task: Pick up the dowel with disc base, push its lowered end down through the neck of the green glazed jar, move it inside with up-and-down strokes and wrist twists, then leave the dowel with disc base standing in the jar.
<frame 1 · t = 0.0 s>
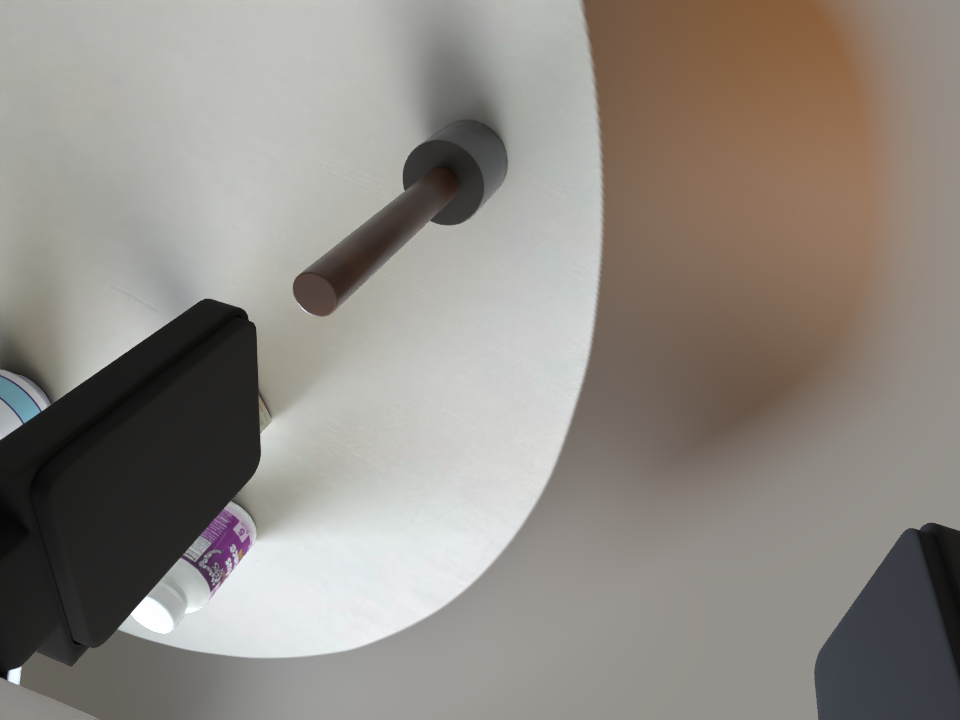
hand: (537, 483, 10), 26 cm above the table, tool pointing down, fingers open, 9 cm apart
pill bottle: (231, 518, 57), on the table
dowel with disc base: (469, 160, 36), on the table
beverage can: (29, 397, 57), on the table
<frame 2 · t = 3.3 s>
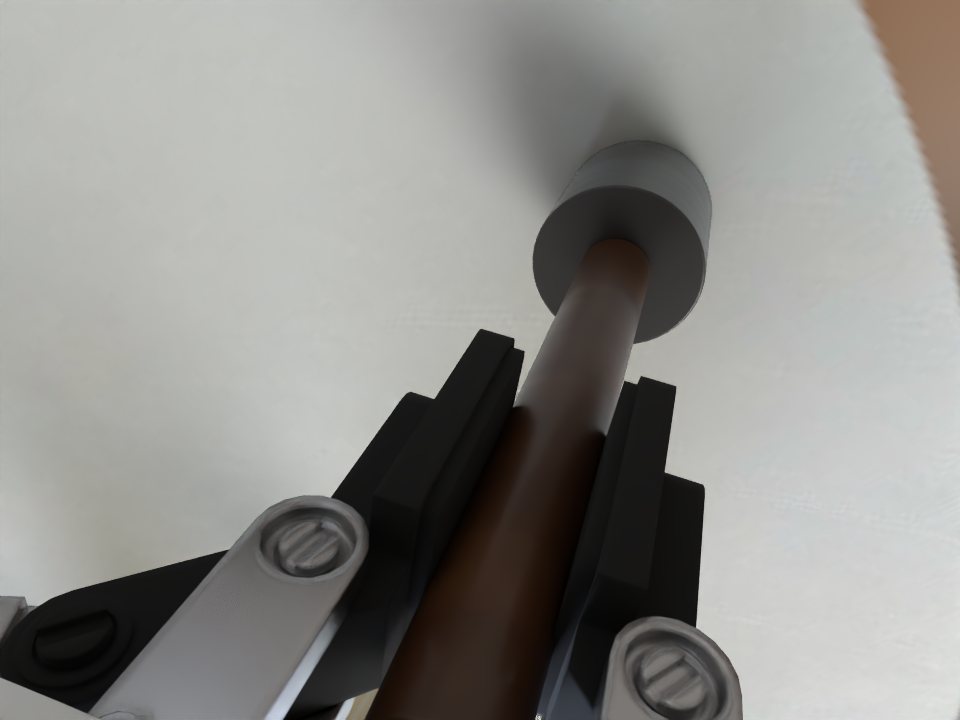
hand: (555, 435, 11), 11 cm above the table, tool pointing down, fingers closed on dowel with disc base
dowel with disc base: (636, 213, 20), on the table, touching gripper
box: (413, 671, 35), on the table
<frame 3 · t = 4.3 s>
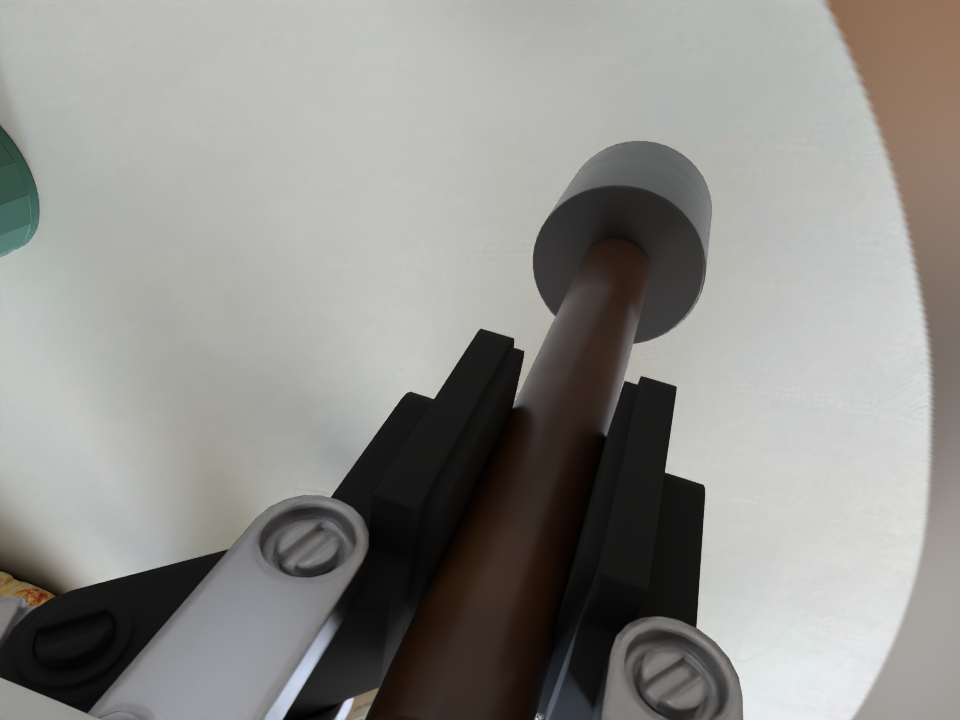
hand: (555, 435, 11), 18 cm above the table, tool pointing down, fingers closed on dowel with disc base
dowel with disc base: (636, 213, 20), point 8 cm above the table, touching gripper
box: (464, 570, 41), on the table
croissant: (60, 615, 59), on the table
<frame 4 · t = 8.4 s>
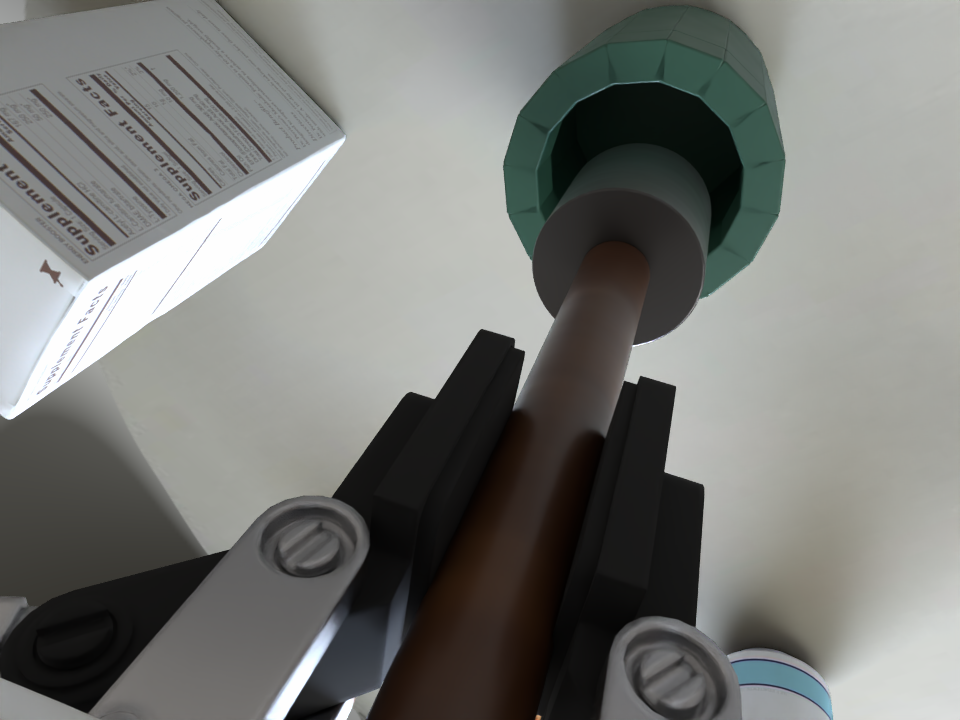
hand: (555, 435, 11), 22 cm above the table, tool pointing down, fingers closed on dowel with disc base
dowel with disc base: (636, 215, 20), point 12 cm above the table, touching gripper
beverage can: (766, 671, 44), on the table
supplement box: (238, 131, 36), on the table
jar: (665, 115, 29), on the table
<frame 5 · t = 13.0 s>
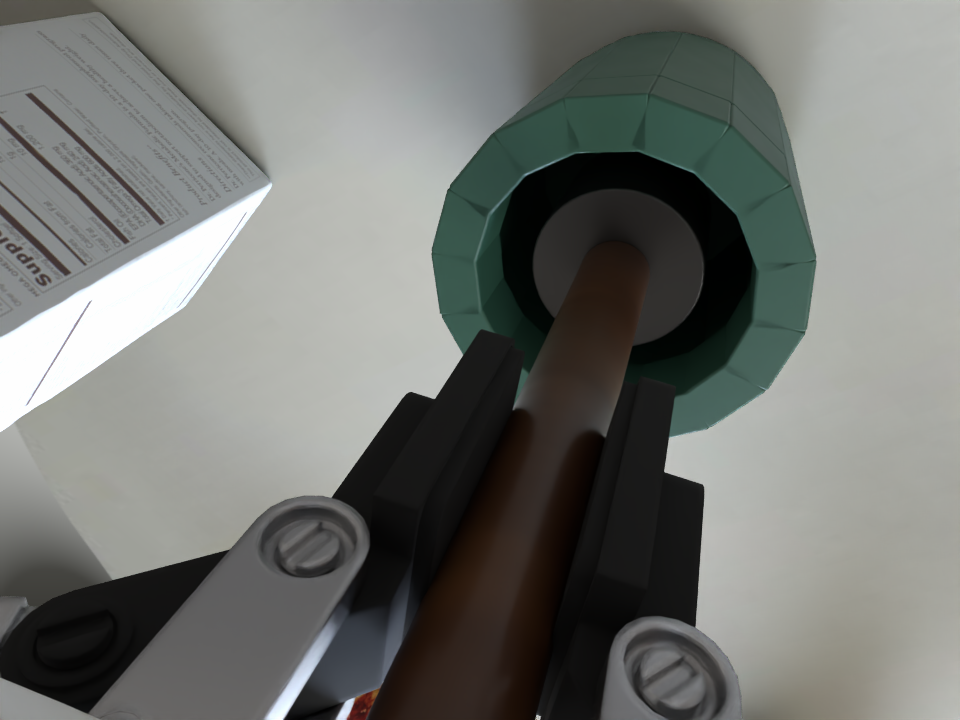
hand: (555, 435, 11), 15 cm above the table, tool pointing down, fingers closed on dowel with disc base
dowel with disc base: (635, 215, 20), point 5 cm above the table, touching gripper
supplement box: (149, 174, 30), on the table
jar: (653, 165, 24), on the table
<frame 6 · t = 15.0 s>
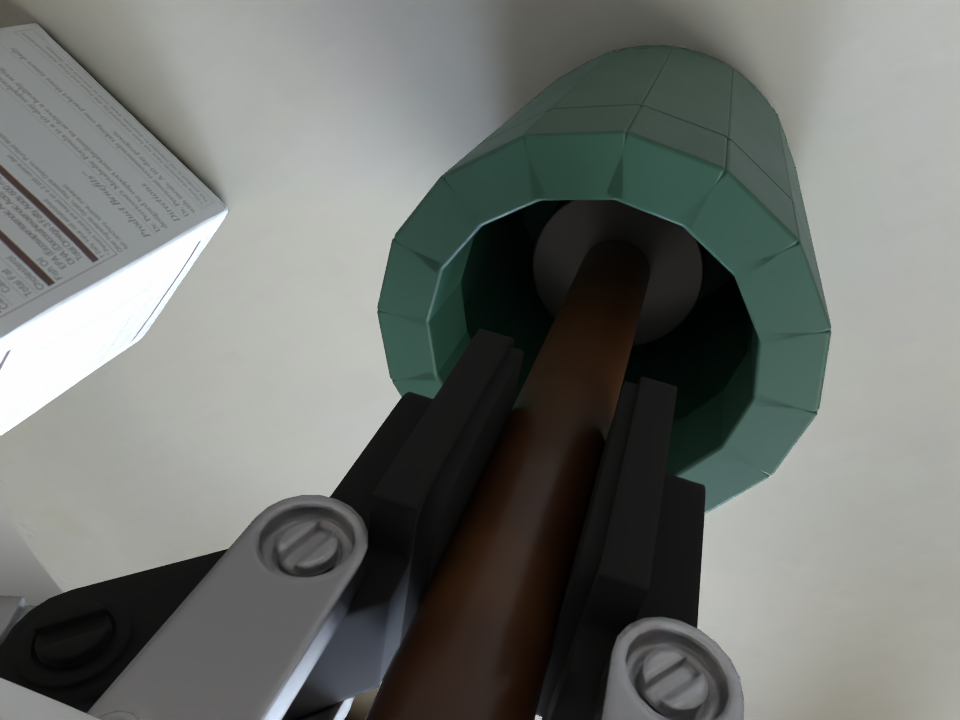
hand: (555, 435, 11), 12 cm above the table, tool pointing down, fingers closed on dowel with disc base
dowel with disc base: (635, 215, 20), point 2 cm above the table, touching gripper
supplement box: (98, 198, 28), on the table
jar: (643, 193, 21), on the table
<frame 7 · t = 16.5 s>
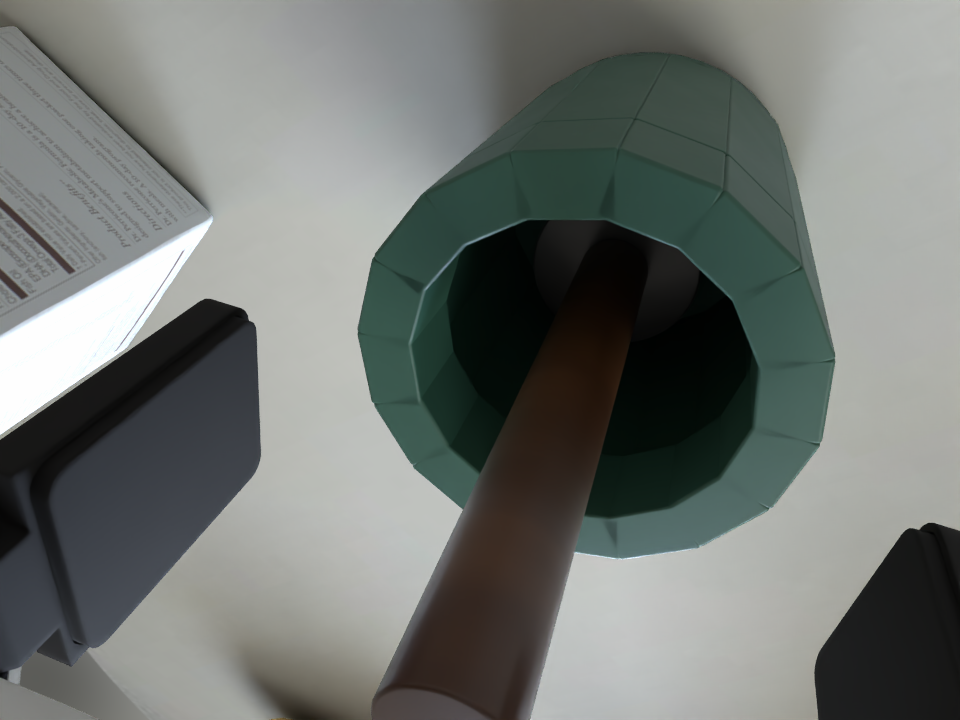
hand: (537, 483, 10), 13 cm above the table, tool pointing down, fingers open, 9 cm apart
dowel with disc base: (634, 215, 20), point 1 cm above the table, touching jar
supplement box: (80, 205, 27), on the table
jar: (638, 204, 21), on the table
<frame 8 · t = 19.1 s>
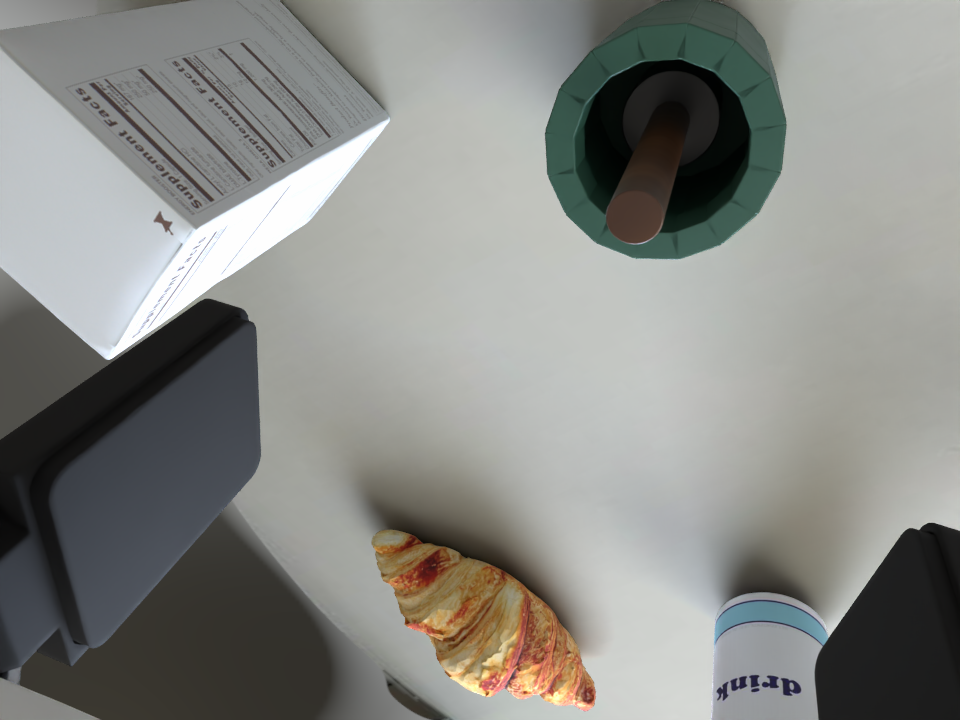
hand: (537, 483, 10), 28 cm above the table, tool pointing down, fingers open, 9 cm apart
dowel with disc base: (677, 101, 33), point 1 cm above the table, touching jar
beverage can: (769, 615, 48), on the table
supplement box: (290, 114, 40), on the table
jar: (679, 96, 33), on the table
croissant: (494, 594, 55), on the table
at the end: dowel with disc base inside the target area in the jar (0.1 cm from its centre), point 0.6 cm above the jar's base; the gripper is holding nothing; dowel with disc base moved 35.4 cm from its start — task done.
